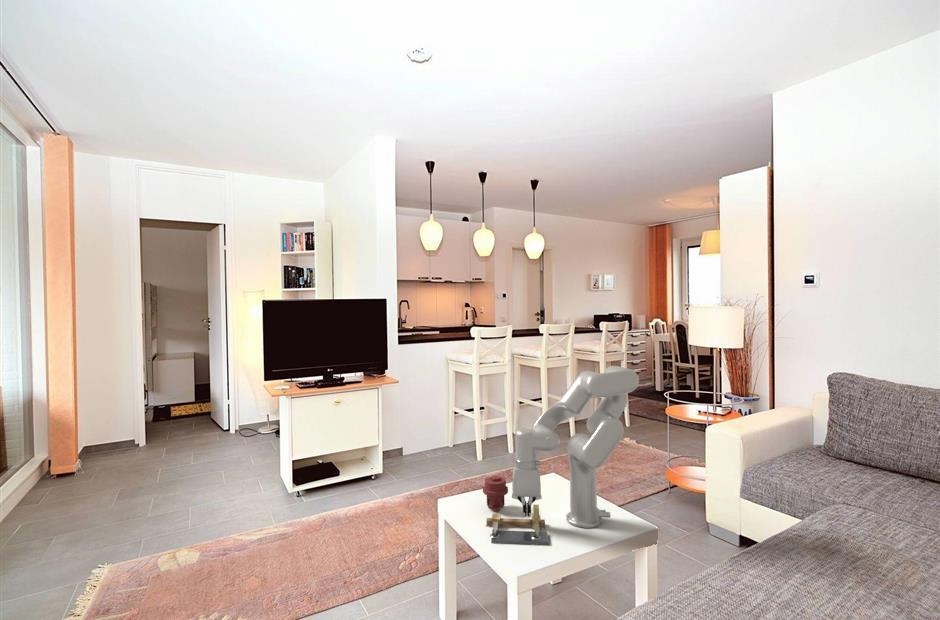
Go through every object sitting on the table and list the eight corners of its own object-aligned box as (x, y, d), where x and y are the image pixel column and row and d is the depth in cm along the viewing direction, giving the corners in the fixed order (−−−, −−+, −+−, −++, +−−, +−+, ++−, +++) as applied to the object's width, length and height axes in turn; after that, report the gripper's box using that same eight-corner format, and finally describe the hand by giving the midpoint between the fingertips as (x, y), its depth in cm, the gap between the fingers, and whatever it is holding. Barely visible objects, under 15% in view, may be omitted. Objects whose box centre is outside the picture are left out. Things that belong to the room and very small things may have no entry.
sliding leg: (540, 523, 167) (540, 503, 167) (542, 540, 154) (541, 519, 154) (532, 522, 167) (531, 503, 167) (533, 540, 154) (532, 519, 154)
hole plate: (547, 534, 158) (547, 531, 158) (548, 545, 151) (548, 541, 151) (490, 532, 160) (490, 529, 160) (489, 542, 153) (489, 539, 153)
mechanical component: (502, 516, 173) (478, 511, 178) (512, 506, 182) (489, 501, 187) (501, 483, 173) (478, 479, 178) (511, 475, 182) (489, 471, 187)
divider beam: (544, 523, 166) (544, 514, 166) (546, 541, 154) (546, 532, 154) (487, 521, 169) (487, 513, 169) (484, 539, 156) (484, 529, 156)
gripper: (546, 461, 168) (547, 511, 168) (505, 460, 170) (506, 509, 169) (547, 467, 160) (548, 520, 160) (505, 467, 162) (506, 518, 162)
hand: (527, 514), depth 165 cm, fingers closed
